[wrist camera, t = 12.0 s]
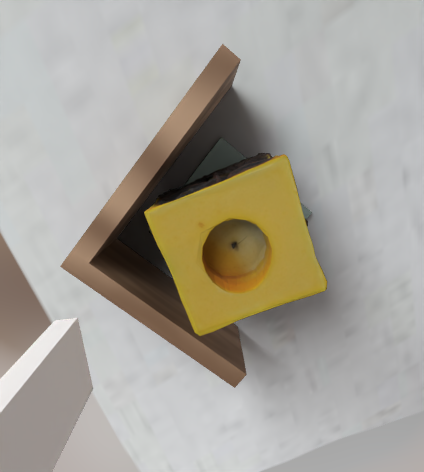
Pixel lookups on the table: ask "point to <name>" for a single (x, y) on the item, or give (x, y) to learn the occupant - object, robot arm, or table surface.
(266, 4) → the table surface
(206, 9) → the table surface
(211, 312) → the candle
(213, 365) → the corner walls
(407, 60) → the table surface
